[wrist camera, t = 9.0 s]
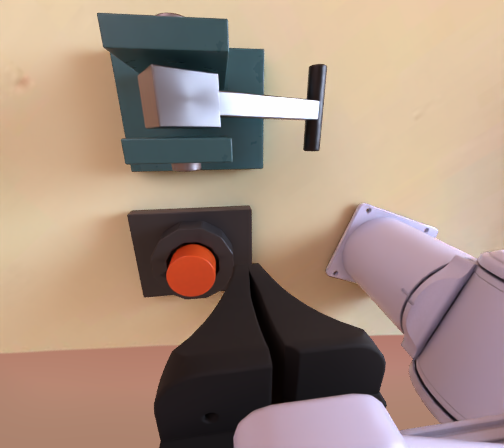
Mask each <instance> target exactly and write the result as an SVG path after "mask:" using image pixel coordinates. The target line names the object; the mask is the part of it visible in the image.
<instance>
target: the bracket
mask: <svg viewBox="0 0 504 448" xmlns="http://www.w3.org/2000/svg"><path fill="white" fill-rule="evenodd" d="M97 16H98V22H99V27H100V32H101V38H102V43H103V47H104V48H105V49H106V50H108V51H109V52H110V55H111V61H112V66H113V72H114V77H115V83H116V88H117V93H118V99H119V104H120V110H121V115H122V121H123V126H124V132H125V137H126V139H121V143H122V148H123V153H124V158H125V163H126V164H130V165H131V170H132V172H139V171H196V170H222V169H262V168H263V119H255V118H224V117H220V121H221V127H220V128H208V129H147V128H146V127H145V122H144V116H143V109H142V103H141V96H140V89H139V83H138V75H139V74H140V73H141V72H143V71H144V70H145V69H146V68H147V67H148V66H150V65H151V64H157V65H164V66H171V67H178V68H185V69H192V70H199V71H206V72H213V73H217V74H218V80H219V91H228V92H238V93H248V94H258V95H264V49H244V48H229V37H228V20H227V19H216V18H195V17H184V16H181V15H178V14H174V13H160V14H157V15H155V16H154V15H133V14H112V13H97Z"/></svg>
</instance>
